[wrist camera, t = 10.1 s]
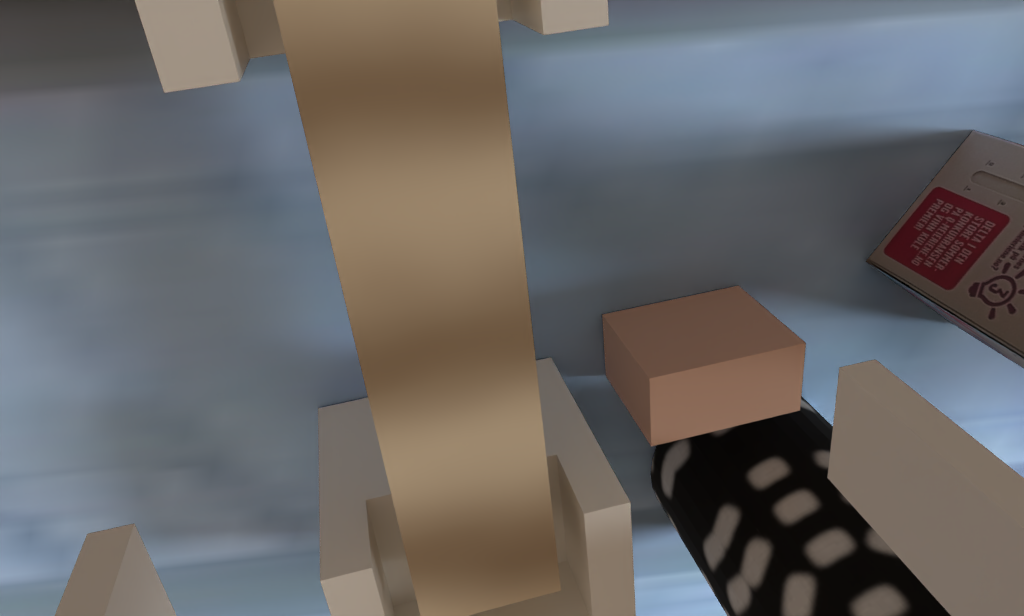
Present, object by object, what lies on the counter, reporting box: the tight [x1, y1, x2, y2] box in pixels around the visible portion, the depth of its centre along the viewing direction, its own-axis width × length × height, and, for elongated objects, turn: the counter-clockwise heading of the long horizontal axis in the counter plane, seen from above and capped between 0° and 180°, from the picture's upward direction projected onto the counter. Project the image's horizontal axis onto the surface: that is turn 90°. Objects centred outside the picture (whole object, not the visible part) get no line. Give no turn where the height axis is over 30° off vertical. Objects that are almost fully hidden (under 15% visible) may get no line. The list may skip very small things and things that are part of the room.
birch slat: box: [273, 0, 561, 616], centre depth 21 cm, size 20×4×3 cm, turn 6°
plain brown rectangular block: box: [602, 286, 806, 447], centre depth 26 cm, size 21×6×5 cm, turn 6°
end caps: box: [135, 0, 636, 616], centre depth 23 cm, size 27×10×9 cm, turn 6°
